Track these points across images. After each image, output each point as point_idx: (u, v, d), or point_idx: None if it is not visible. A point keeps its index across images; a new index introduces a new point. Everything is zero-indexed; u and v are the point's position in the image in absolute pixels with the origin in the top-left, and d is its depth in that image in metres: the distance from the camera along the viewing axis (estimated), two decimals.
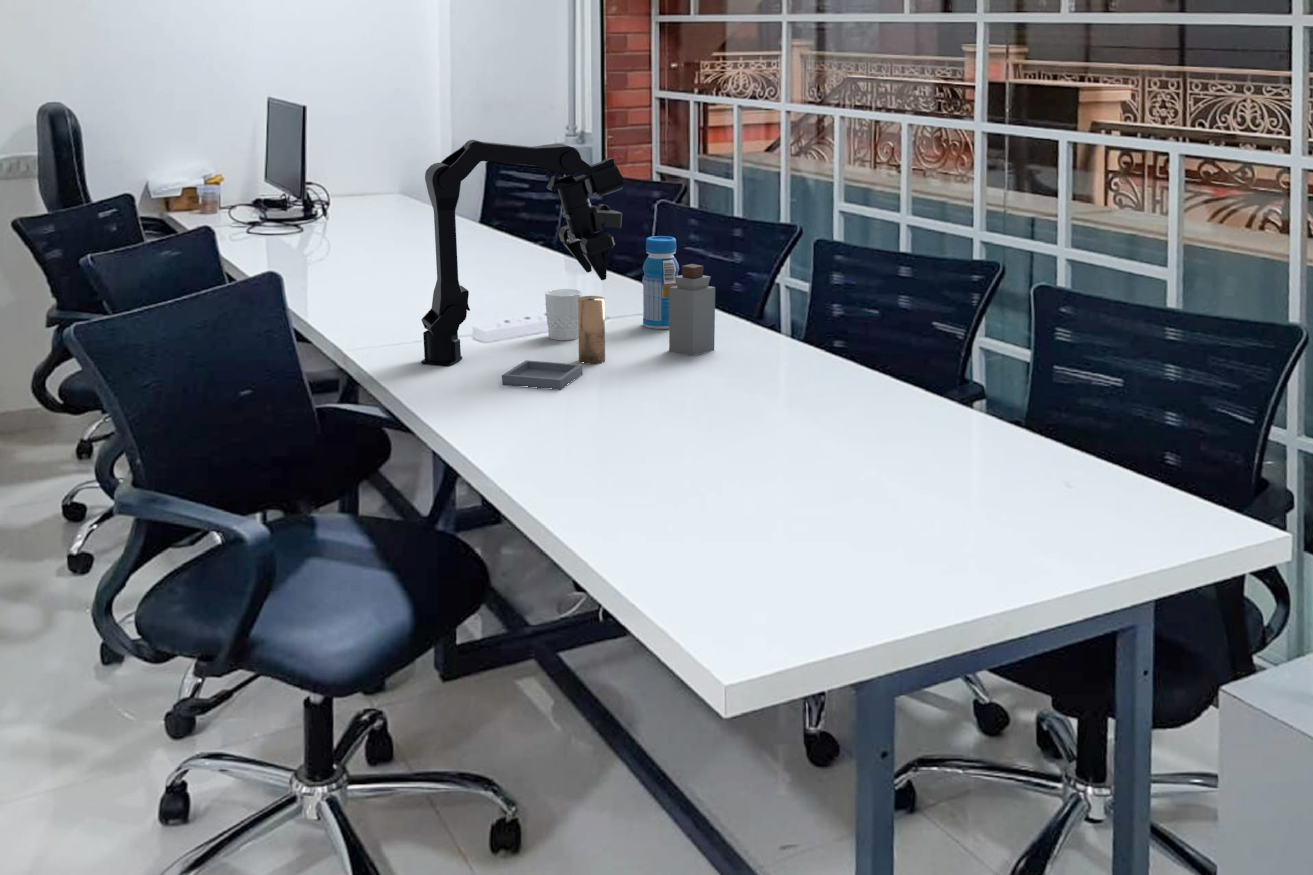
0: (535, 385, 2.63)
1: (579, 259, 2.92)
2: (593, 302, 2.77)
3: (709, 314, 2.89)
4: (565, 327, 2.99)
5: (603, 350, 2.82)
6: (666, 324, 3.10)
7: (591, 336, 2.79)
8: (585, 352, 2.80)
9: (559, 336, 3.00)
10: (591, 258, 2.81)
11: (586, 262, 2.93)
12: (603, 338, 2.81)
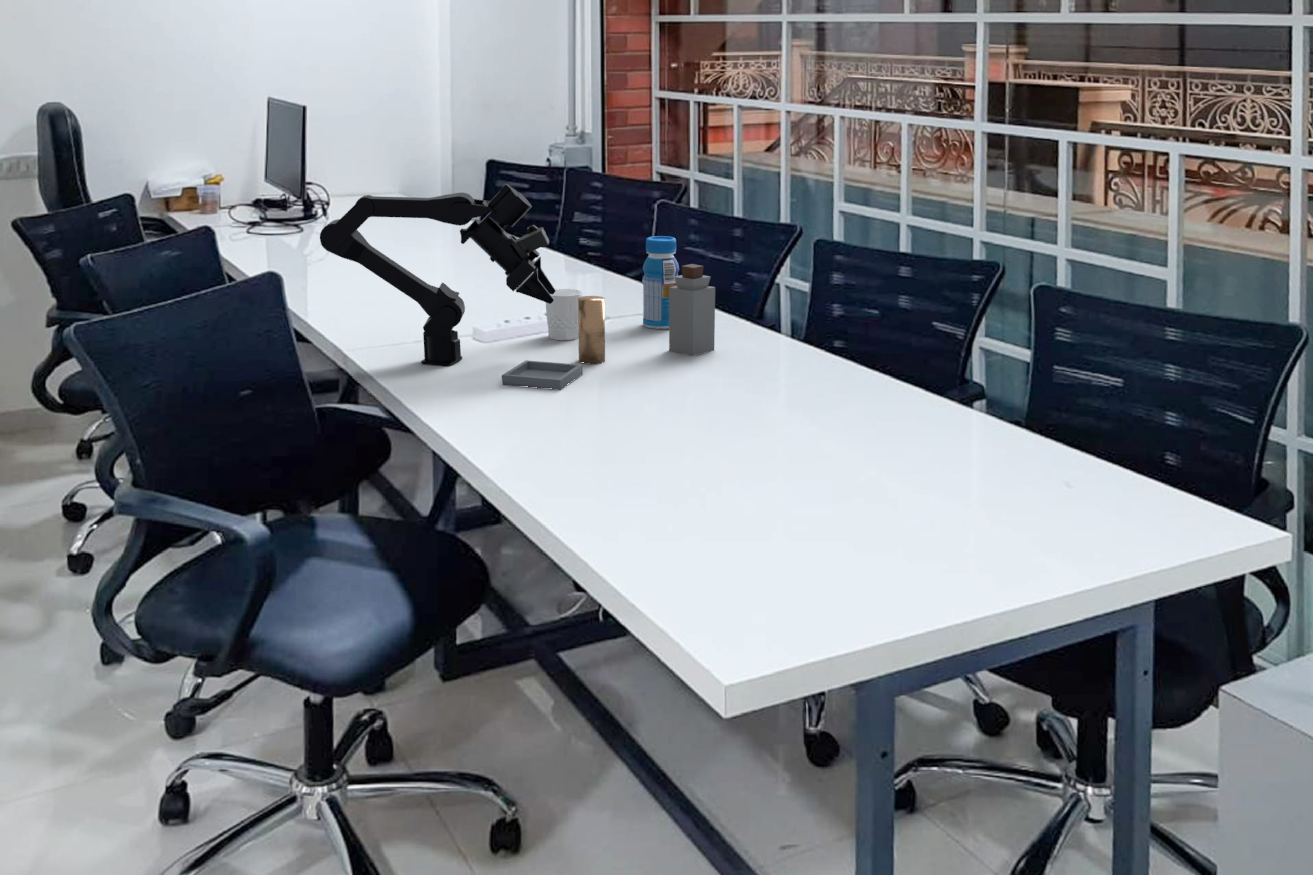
0: (535, 385, 2.63)
1: None
2: (593, 302, 2.77)
3: (709, 314, 2.89)
4: (565, 327, 2.99)
5: (603, 350, 2.82)
6: (666, 324, 3.10)
7: (591, 336, 2.79)
8: (585, 352, 2.80)
9: (559, 336, 3.00)
10: (524, 290, 2.72)
11: (546, 285, 2.83)
12: (603, 338, 2.81)
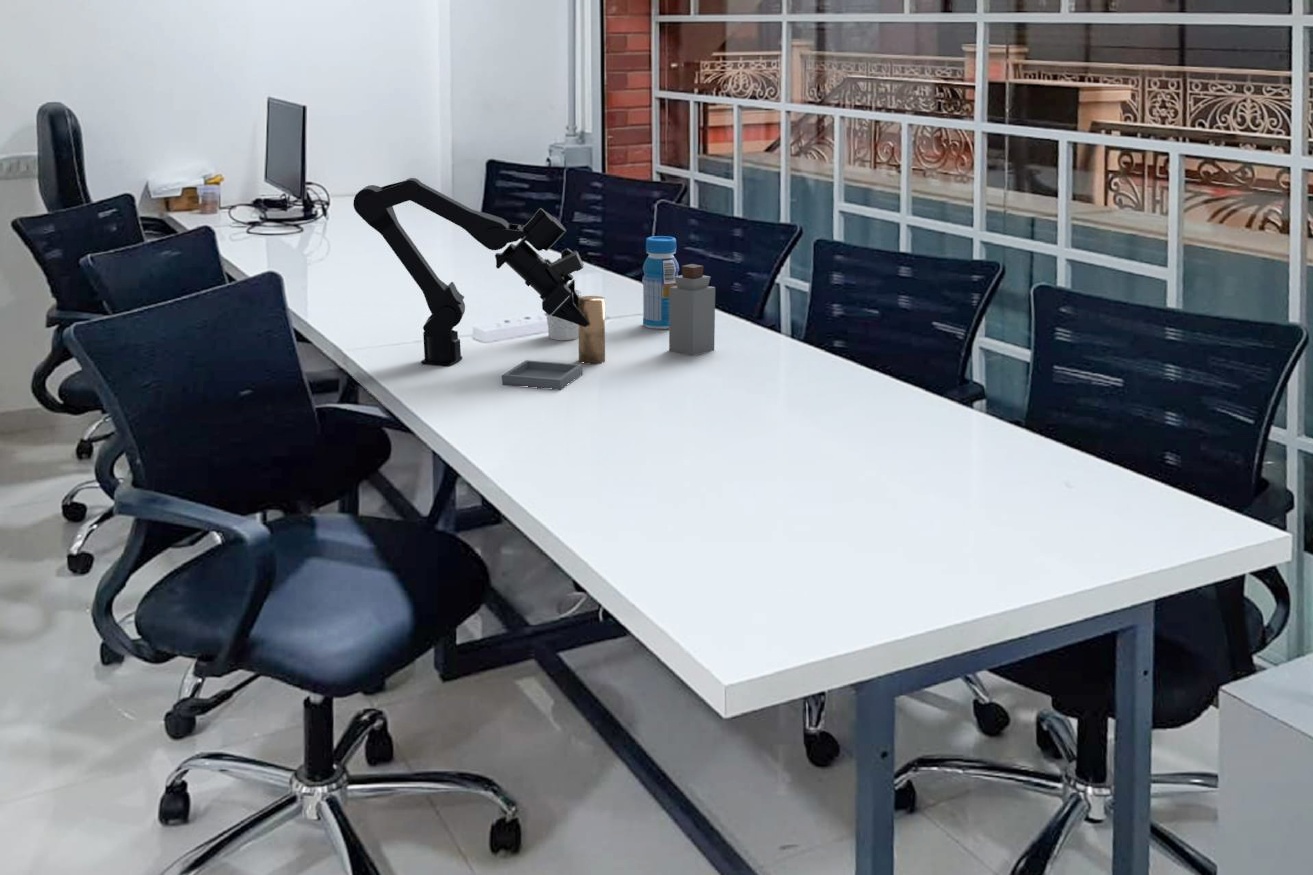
0: (535, 385, 2.63)
1: None
2: (593, 302, 2.77)
3: (709, 314, 2.89)
4: (565, 327, 2.99)
5: (603, 350, 2.82)
6: (666, 324, 3.10)
7: (591, 336, 2.79)
8: (585, 352, 2.80)
9: (559, 336, 3.00)
10: (560, 314, 2.74)
11: None
12: (603, 338, 2.81)
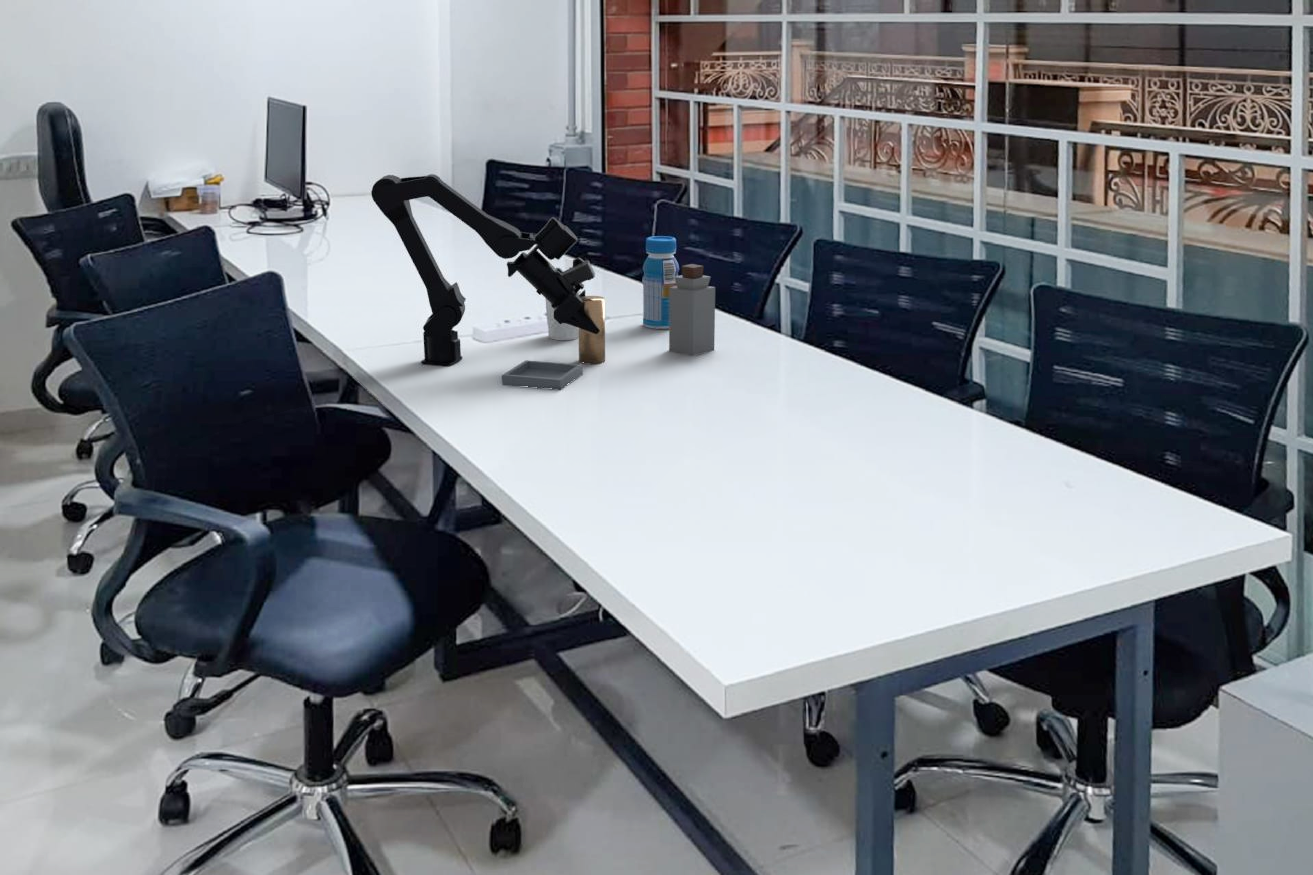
0: (535, 385, 2.63)
1: None
2: (593, 302, 2.77)
3: (709, 314, 2.89)
4: (565, 327, 2.99)
5: (603, 350, 2.82)
6: (666, 324, 3.10)
7: (591, 336, 2.79)
8: (585, 352, 2.80)
9: (559, 336, 3.00)
10: (571, 321, 2.76)
11: None
12: (603, 338, 2.81)
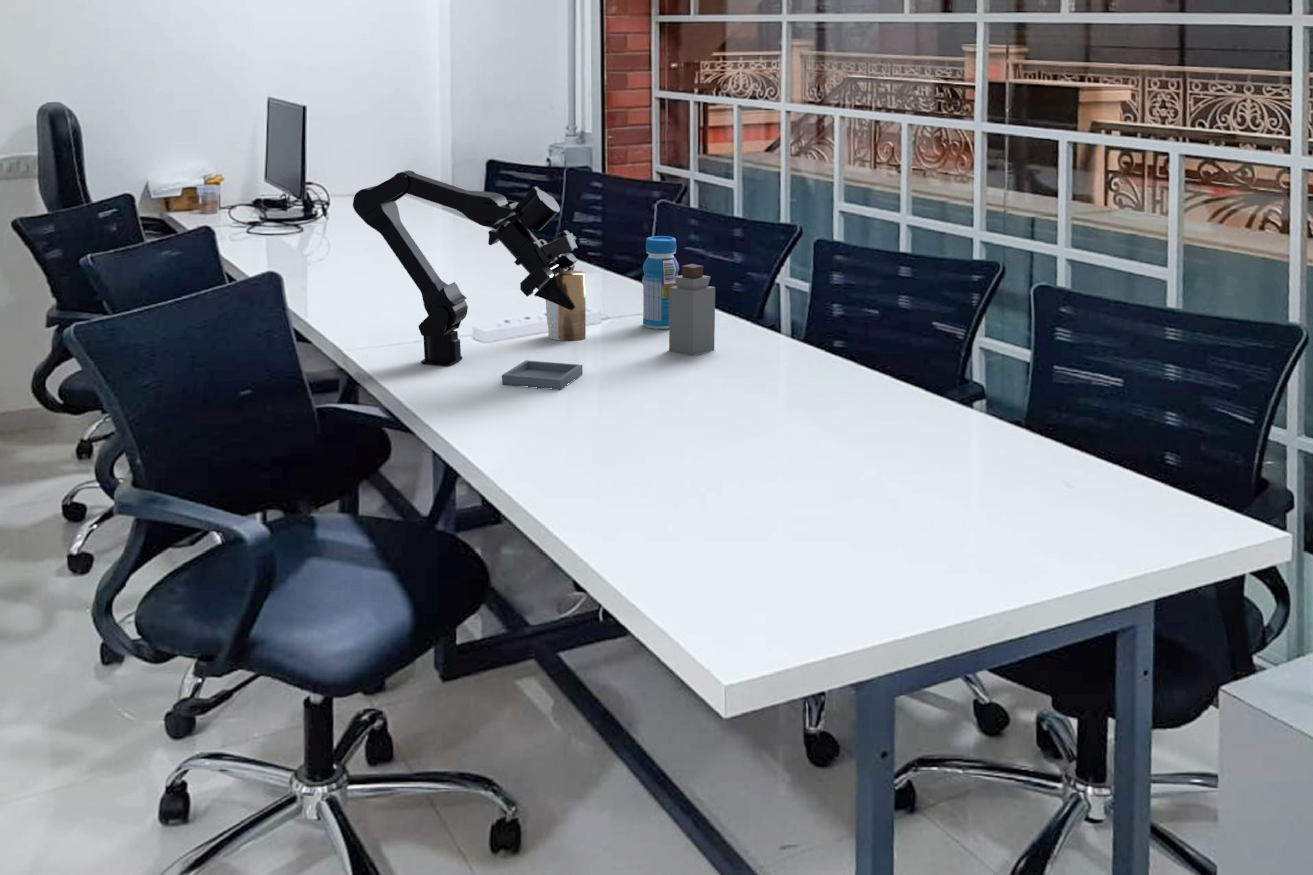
0: (535, 385, 2.63)
1: None
2: (569, 277, 2.67)
3: (709, 314, 2.89)
4: None
5: (581, 328, 2.71)
6: (666, 324, 3.10)
7: (567, 312, 2.69)
8: (562, 328, 2.71)
9: None
10: (544, 295, 2.67)
11: None
12: (581, 315, 2.70)
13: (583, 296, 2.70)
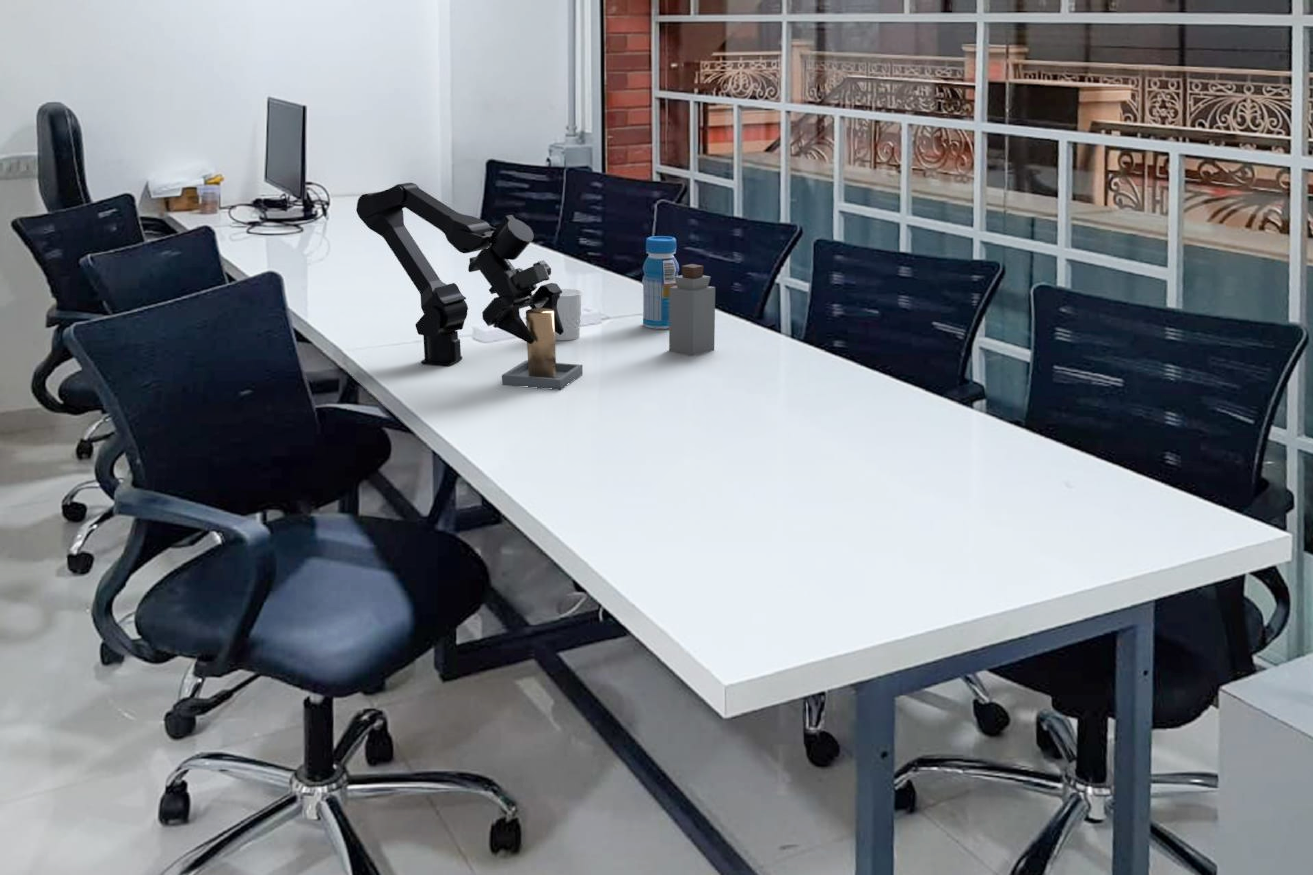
0: (535, 385, 2.63)
1: None
2: (533, 315, 2.63)
3: (709, 314, 2.89)
4: (565, 327, 2.99)
5: (548, 367, 2.66)
6: (666, 324, 3.10)
7: (533, 351, 2.65)
8: (529, 367, 2.67)
9: (559, 336, 3.00)
10: (504, 327, 2.63)
11: (555, 324, 2.70)
12: (547, 354, 2.65)
13: (549, 335, 2.64)
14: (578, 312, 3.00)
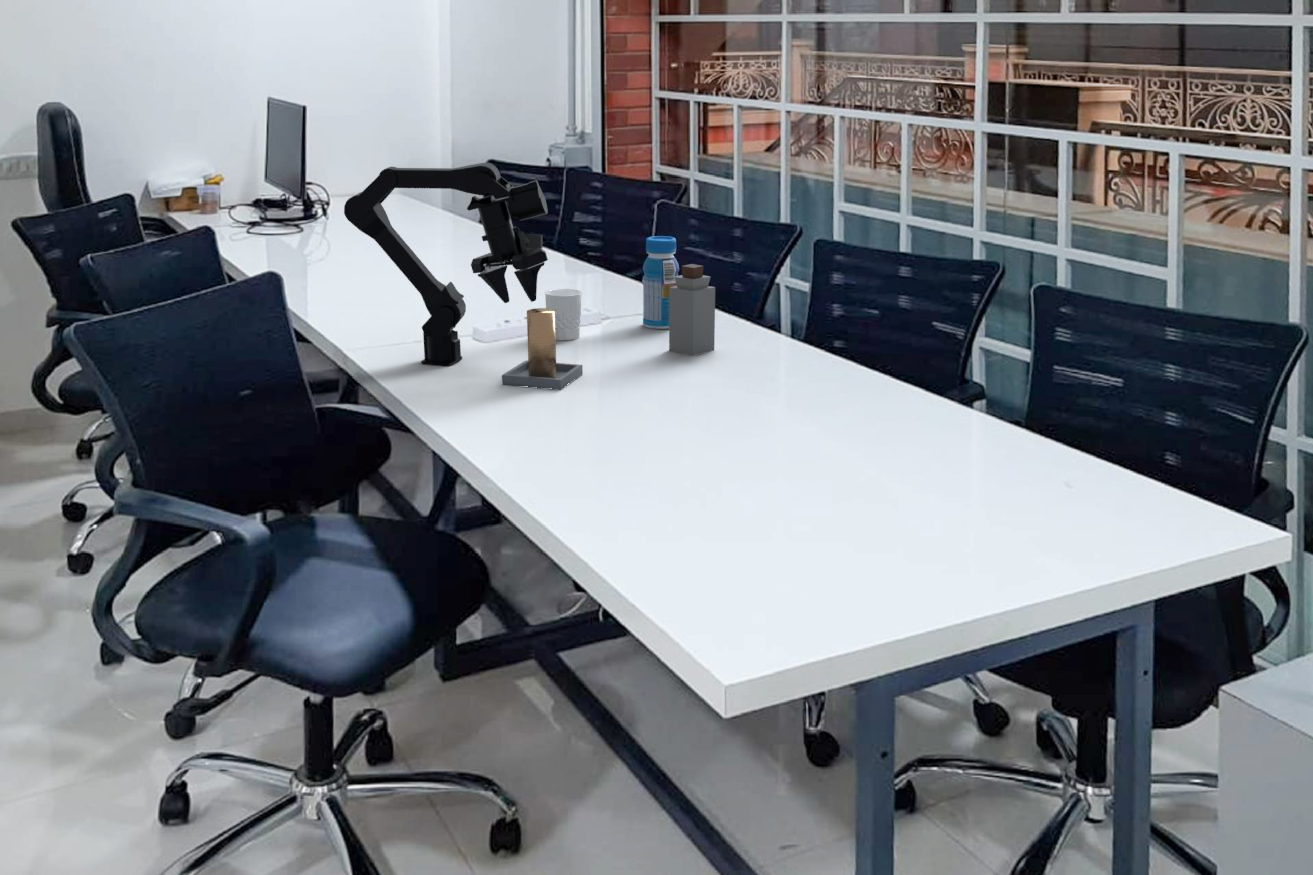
0: (535, 385, 2.63)
1: (497, 289, 2.80)
2: (534, 315, 2.63)
3: (709, 314, 2.89)
4: (565, 327, 2.99)
5: (548, 367, 2.66)
6: (666, 324, 3.10)
7: (533, 351, 2.65)
8: (529, 366, 2.67)
9: (559, 336, 3.00)
10: (524, 276, 2.70)
11: (504, 292, 2.81)
12: (548, 354, 2.65)
13: (550, 335, 2.65)
14: (578, 312, 3.00)
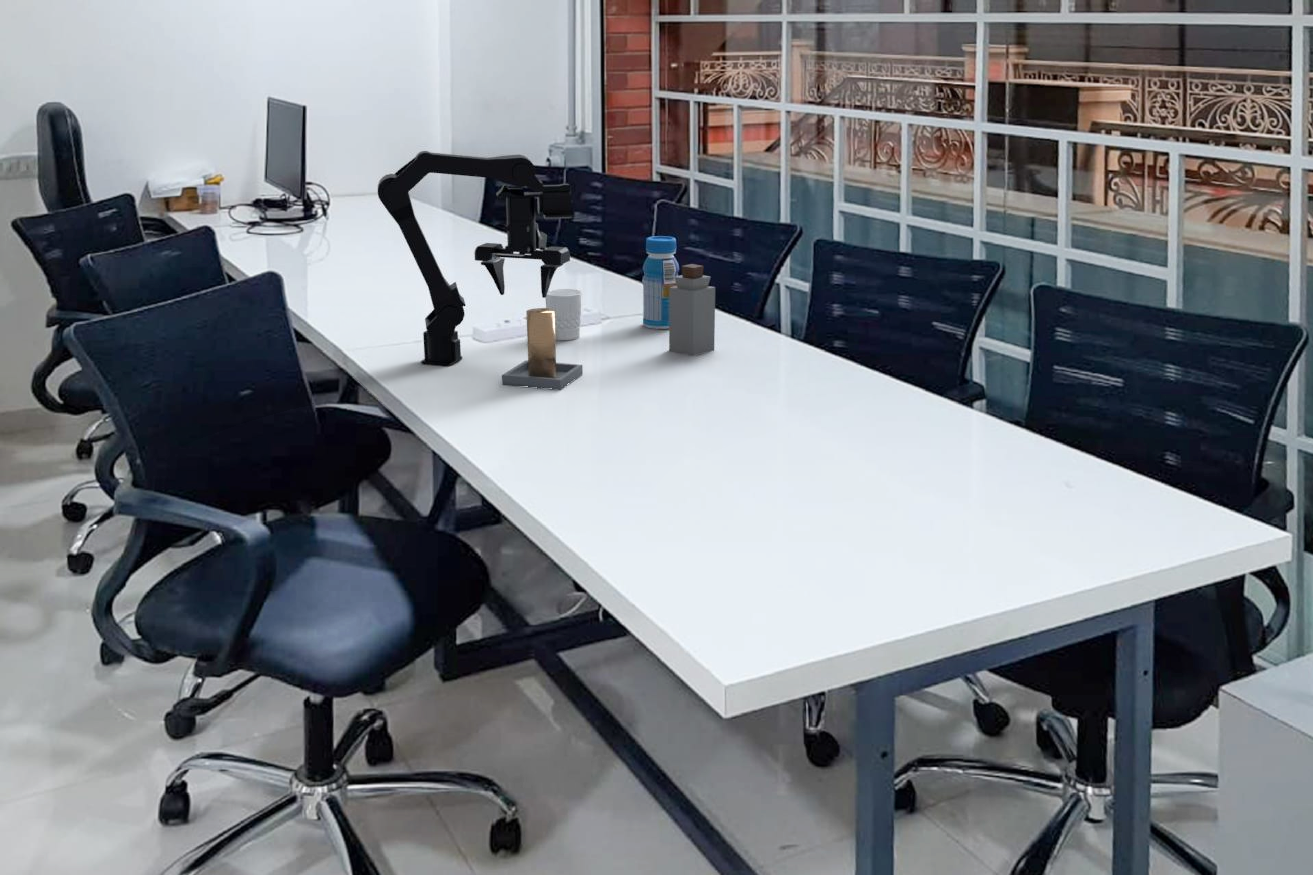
0: (535, 385, 2.63)
1: (499, 280, 2.81)
2: (533, 315, 2.63)
3: (709, 314, 2.89)
4: (565, 327, 2.99)
5: (548, 367, 2.66)
6: (666, 324, 3.10)
7: (533, 351, 2.65)
8: (529, 366, 2.67)
9: (559, 336, 3.00)
10: (548, 272, 2.76)
11: (502, 284, 2.82)
12: (548, 354, 2.65)
13: (550, 335, 2.65)
14: (578, 312, 3.00)
